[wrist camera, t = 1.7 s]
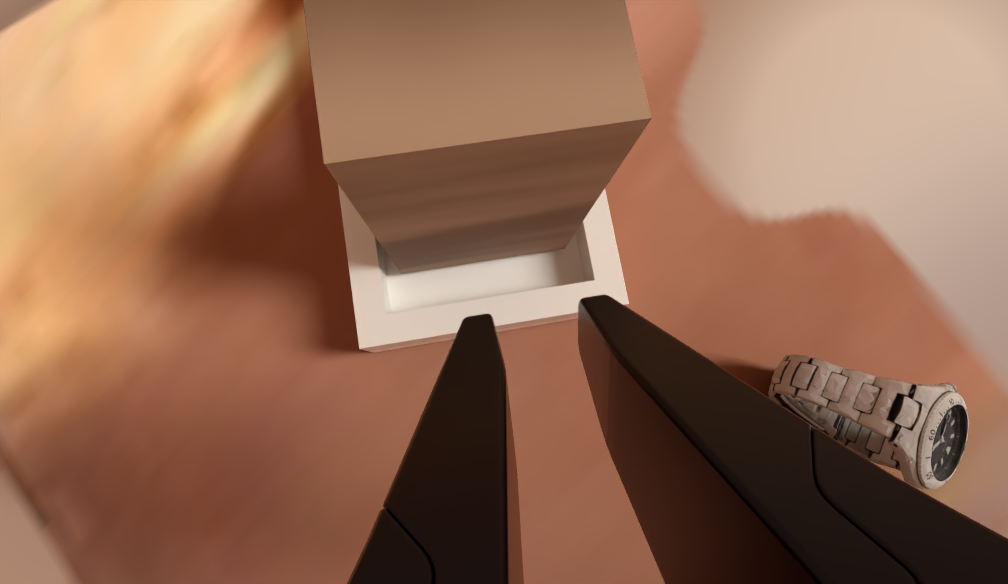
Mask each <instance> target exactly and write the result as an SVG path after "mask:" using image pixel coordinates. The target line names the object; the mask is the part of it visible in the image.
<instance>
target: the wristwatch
mask: <svg viewBox="0 0 1008 584" xmlns="http://www.w3.org/2000/svg"><path fill="white" fill-rule="evenodd" d="M956 392H957V387H956V386H955V385H953V384H951V383H941V384H938V385H924V384H912V383H909V382H904V381H900V380H894V379H888V378H881V377H876V376H873V375H870V374H867V373H863V372H859V371H855V370H851V369H845V368H842V367H839V366H836V365H833V364H830V363H828V362H825V361H823V360H819V359H816V358H814V359H813V358H810V357H808V356H802V355H787V356H785V358H784V359H783V360H782V362H781V363H780V364H779V366H778V367H777V368H776V369H775V372H774V374H773V377H772V380H771V384H770V388H769V392H768V394H769V398H770V399H772V400H773V401H775V402H777V403H778V404H780V405H781V406H783V407H784V408H786V409H788V410H789V411H791V412H792V413H794V414H795V415H797V416H799V417H800V418H802V419H803V420H805V421H806V422H808V423H809V424H810V425H811V429H813V428H818V429H819V430H821V431H822V432H824V433H826V434H827V435H829V436H830V437H832V438H833V439H835V440H837V441H838V442H840V443H841V444H843V445H844V446H846V447H848V448H849V449H851V450H853V451H854V452H856V453H857V454H859V455H861V456H863V457H865V458H866V459H868V460H870V461H873V462H875V463H877V464H881V465H885V466H888V467H891V468H895V469H898V470H899V471H901V472H902V475H903V477H904V480H905V481H906V482H907V483H908V484H910V485H912V486H915V487H918V488H921V489H937V488H939V487H941V486H942V485H943V484H945V483H946V482H947V481H948V480H949V479H950V477H951V476H952V475H953V473H954V472H955V470H956V468H957V466H958V464H959V462H960V460H961V458H962V455H963V452H964V449H965V446H966V442H967V436H968V425H969V420H968V412H967V407H966V405H965V403H964V400H963V398H962V397H961V396H960V395H959V394H958V393H956Z"/></svg>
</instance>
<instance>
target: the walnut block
mask: <svg viewBox="0 0 1008 584" xmlns="http://www.w3.org/2000/svg"><path fill="white" fill-rule="evenodd" d="M303 3H304V11H305V19H306V27H307V35H308V43H309V50H310V58H311V66H312V74H313V82H314V90H315V98H316V105H317V113H318V121H319V129H320V137H321V145H322V153H323V161H324V165H325V166H326V168H327V169H328V170H329V172H330V173H331V175H332V176H333V178H334V179H335V180H336V182H337V183H338V185H339V186H340V188H341V189H342V190H343V192H344V193H345V195H346V196H347V197H348V199H349V200H350V202H351V203H352V205H353V206H354V207H355V209H356V210H357V212H358V213H359V214H360V216H361V217H362V219H363V220H364V222H365V223H366V224H367V226H368V227H369V229H370V230H371V231H372V233H373V234H374V236H375V237H376V239H377V240H378V241H379V243H380V244H381V246H382V247H383V248H384V250H385V251H386V253H387V254H388V256H389V257H390V258H391V260H392V261H393V263H394V264H395V265H396V267H397V268H398V270H399V271H400V273H401V274H407V273H413V272H419V271H426V270H432V269H438V268H445V267H451V266H457V265H464V264H470V263H476V262H483V261H489V260H495V259H502V258H508V257H514V256H521V255H527V254H534V253H540V252H546V251H553V250H559V249H565V247H566V246H567V244H568V243H569V241H570V240H571V238H572V237H573V235H574V234H575V232H576V231H577V229H578V228H579V226H580V225H581V223H582V222H583V220H584V219H585V217H586V216H587V214H588V213H589V211H590V210H591V208H592V207H593V205H594V204H595V202H596V201H597V199H598V198H599V196H600V195H601V193H602V192H603V190H604V189H605V187H606V186H607V184H608V183H609V181H610V180H611V178H612V177H613V175H614V174H615V172H616V171H617V169H618V168H619V166H620V165H621V163H622V162H623V160H624V159H625V157H626V156H627V154H628V153H629V151H630V150H631V148H632V147H633V145H634V144H635V142H636V141H637V139H638V138H639V136H640V135H641V133H642V132H643V130H644V129H645V127H646V126H647V124H648V123H649V121H650V120H651V113H650V109H649V104H648V100H647V96H646V91H645V87H644V83H643V78H642V74H641V69H640V65H639V61H638V56H637V52H636V47H635V43H634V39H633V34H632V30H631V26H630V21H629V17H628V12H627V8H626V4H625V0H303Z"/></svg>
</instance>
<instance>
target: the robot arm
mask: <svg viewBox="0 0 1008 584" xmlns="http://www.w3.org/2000/svg"><path fill="white" fill-rule="evenodd" d="M578 344H579V351H580V355H581V359H582V363H583V366H584V369H585V373H586V376H587V380H588V383H589V387H590V390H591V394H592V397H593V401H594V404H595V408H596V411H597V415H598V418H599V422H600V425H601V429H602V432H603V435H604V438H605V441H606V444H607V447H608V449H609V452H610V455H611V457H612V460H613V462H614V464H615V467H616V469H617V471H618V474H619V476H620V478H621V481H622V483H623V485H624V488H625V490H626V492H627V495H628V497H629V500H630V502H631V504H632V507H633V509H634V511H635V514H636V516H637V518H638V521H639V523H640V525H641V528H642V530H643V532H644V535H645V537H646V539H647V542H648V544H649V547H650V549H651V551H652V554H653V556H654V558H655V561H656V563H657V565H658V568H659V570H660V572H661V575H662V577H663V579H664V582H665V584H1008V539H1007V538H1006V537H1004V536H1002V535H1000V534H998V533H996V532H994V531H993V530H991V529H989V528H987V527H985V526H983V525H982V524H980V523H978V522H976V521H974V520H972V519H970V518H969V517H967V516H965V515H963V514H961V513H959V512H958V511H956V510H954V509H952V508H950V507H948V506H947V505H945V504H943V503H941V502H940V501H938V500H936V499H934V498H933V497H931V496H929V495H927V494H925V493H924V492H922V491H920V490H918V489H917V488H915V487H913V486H911V485H909V484H908V483H906V482H904V481H902V480H901V479H899V478H897V477H895V476H893V475H892V474H890V473H889V472H887V471H885V470H884V469H882V468H880V467H879V466H877V465H875V464H874V463H872V462H871V461H869V460H867V459H866V458H864V457H862V456H861V455H859V454H857V453H856V452H854V451H853V450H851V449H849V448H848V447H846V446H844V445H843V444H841V443H840V442H838V441H837V440H835V439H833V438H832V437H830V436H829V435H827V434H826V433H824V432H822V431H821V430H819V429H818V428H813V429H811V425H810V424H809V423H808V422H806V421H805V420H803V419H802V418H800V417H799V416H797V415H795V414H794V413H792V412H791V411H789V410H788V409H786V408H784V407H783V406H781V405H780V404H778V403H777V402H775V401H773V400H772V399H770V398H769V397H767V396H766V395H764V394H762V393H761V392H759V391H758V390H756V389H755V388H753V387H751V386H750V385H748V384H747V383H745V382H744V381H742V380H740V379H739V378H737V377H736V376H734V375H733V374H731V373H730V372H728V371H726V370H725V369H723V368H722V367H720V366H719V365H717V364H715V363H714V362H712V361H711V360H709V359H708V358H706V357H704V356H703V355H701V354H700V353H698V352H697V351H695V350H693V349H692V348H690V347H689V346H687V345H686V344H684V343H682V342H681V341H679V340H678V339H676V338H675V337H673V336H672V335H670V334H668V333H667V332H665V331H664V330H662V329H661V328H659V327H657V326H656V325H654V324H653V323H651V322H650V321H648V320H646V319H645V318H643V317H642V316H640V315H639V314H637V313H635V312H634V311H632V310H631V309H629V308H628V307H626V306H624V305H623V304H621V303H620V302H618V301H617V300H615V299H614V298H612V297H610V296H608V295H597V296H591V297H585V298H582V299H581V300H580V301H579V304H578ZM383 507H384V509H382V510H381V511H380V512H379V515H378V517H377V519H376V522H375V524H374V526H373V529H372V531H371V533H370V536H369V538H368V540H367V542H366V544H365V547H364V549H363V551H362V553H361V555H360V557H359V559H358V562H357V564H356V566H355V568H354V570H353V572H352V574H351V577H350V579H349V581H348V583H347V584H524V581H523V564H522V547H521V530H520V513H519V496H518V479H517V467H516V457H515V448H514V439H513V431H512V422H511V413H510V404H509V396H508V387H507V378H506V369H505V364H504V359H503V355H502V352H501V348H500V344H499V340H498V336H497V332H496V328H495V324H494V320H493V317H492V316H491V314H481V315H474V316H468V317H465V318H464V319H463V321H462V323H461V325H460V327H459V330H458V332H457V334H456V337H455V339H454V341H453V343H452V346H451V348H450V350H449V353H448V355H447V357H446V360H445V362H444V364H443V367H442V369H441V371H440V374H439V376H438V378H437V381H436V383H435V385H434V388H433V390H432V392H431V395H430V397H429V399H428V402H427V404H426V406H425V409H424V411H423V413H422V415H421V418H420V420H419V422H418V425H417V427H416V429H415V432H414V434H413V436H412V439H411V441H410V443H409V446H408V448H407V450H406V453H405V455H404V457H403V460H402V462H401V464H400V467H399V469H398V471H397V474H396V476H395V478H394V481H393V483H392V485H391V487H390V490H389V492H388V494H387V497H386V499H385V501H384V504H383Z"/></svg>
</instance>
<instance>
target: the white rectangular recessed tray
mask: <svg viewBox="0 0 1008 584" xmlns="http://www.w3.org/2000/svg"><path fill="white" fill-rule="evenodd" d="M338 189H339V197H340V204H341V212H342V220H343V227H344V235H345V243H346V250H347V258H348V266H349V273H350V281H351V289H352V296H353V304H354V312H355V319H356V327H357V335H358V342H359V349H362V350H365V351H369V352H373V353H375V352H381V351H387V350H393V349H399V348H405V347H411V346H417V345H423V344H429V343H434V342H440V341H446V340H452V339H455V337H456V334H457V332H458V330H459V327H460V325H461V323H462V321H463V319H464V318H465V317H468V316H474V315H481V314H491V316H492V317H493V320H494V324H495V328H496V332H500V331H506V330H512V329H518V328H524V327H530V326H536V325H542V324H548V323H554V322H560V321H565V320H571V319H577V318H578V304H579V301H580V300H581V299H582V298H585V297H591V296H597V295H608V296H610V297H612V298H614V299H615V300H617V301H618V302H620V303H621V304H623V305H624V306H626V305H628V304H629V301H628V297H627V292H626V287H625V282H624V278H623V273H622V268H621V263H620V259H619V254H618V249H617V244H616V240H615V235H614V230H613V225H612V220H611V216H610V211H609V206H608V201H607V197H606V192H605V189H604V190H603V192H602V193H601V195H600V196H599V198H598V199H597V201H596V202H595V204H594V205H593V207H592V208H591V210H590V211H589V213H588V214H587V216H586V217H585V219H584V220H583V222H582V223H581V225H580V226H579V228H578V229H577V231H576V232H575V234H574V235H573V237H572V238H571V240H570V241H569V243H568V244H567V246H566V247H565V249H559V250H553V251H546V252H540V253H534V254H527V255H521V256H514V257H508V258H502V259H495V260H489V261H483V262H476V263H470V264H464V265H457V266H451V267H445V268H438V269H432V270H426V271H419V272H413V273H407V274H401V273H400V271H399V270H398V268H397V267H396V265H395V264H394V263H393V261H392V260H391V258H390V257H389V256H388V254H387V253H386V251H385V250H384V248H383V247H382V246H381V244H380V243H379V241H378V240H377V239H376V237H375V236H374V234H373V233H372V231H371V230H370V229H369V227H368V226H367V224H366V223H365V222H364V220H363V219H362V217H361V216H360V214H359V213H358V212H357V210H356V209H355V207H354V206H353V205H352V203H351V202H350V200H349V199H348V197H347V196H346V195H345V193H344V192H343V190H342V189H341V188H340V186H339V185H338Z"/></svg>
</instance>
